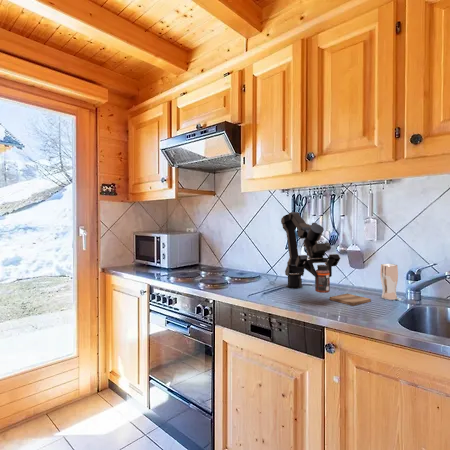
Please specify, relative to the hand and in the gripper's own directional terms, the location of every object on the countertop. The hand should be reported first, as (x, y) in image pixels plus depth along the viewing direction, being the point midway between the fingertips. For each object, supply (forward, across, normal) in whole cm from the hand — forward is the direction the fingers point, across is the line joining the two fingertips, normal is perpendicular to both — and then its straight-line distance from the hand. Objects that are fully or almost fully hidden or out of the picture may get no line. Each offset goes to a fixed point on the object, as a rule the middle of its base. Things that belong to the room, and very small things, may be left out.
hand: (323, 276), depth 129 cm
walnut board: (+6, +14, +11) cm, 18 cm away
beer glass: (+6, +33, +11) cm, 35 cm away
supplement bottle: (+4, 0, +6) cm, 7 cm away
